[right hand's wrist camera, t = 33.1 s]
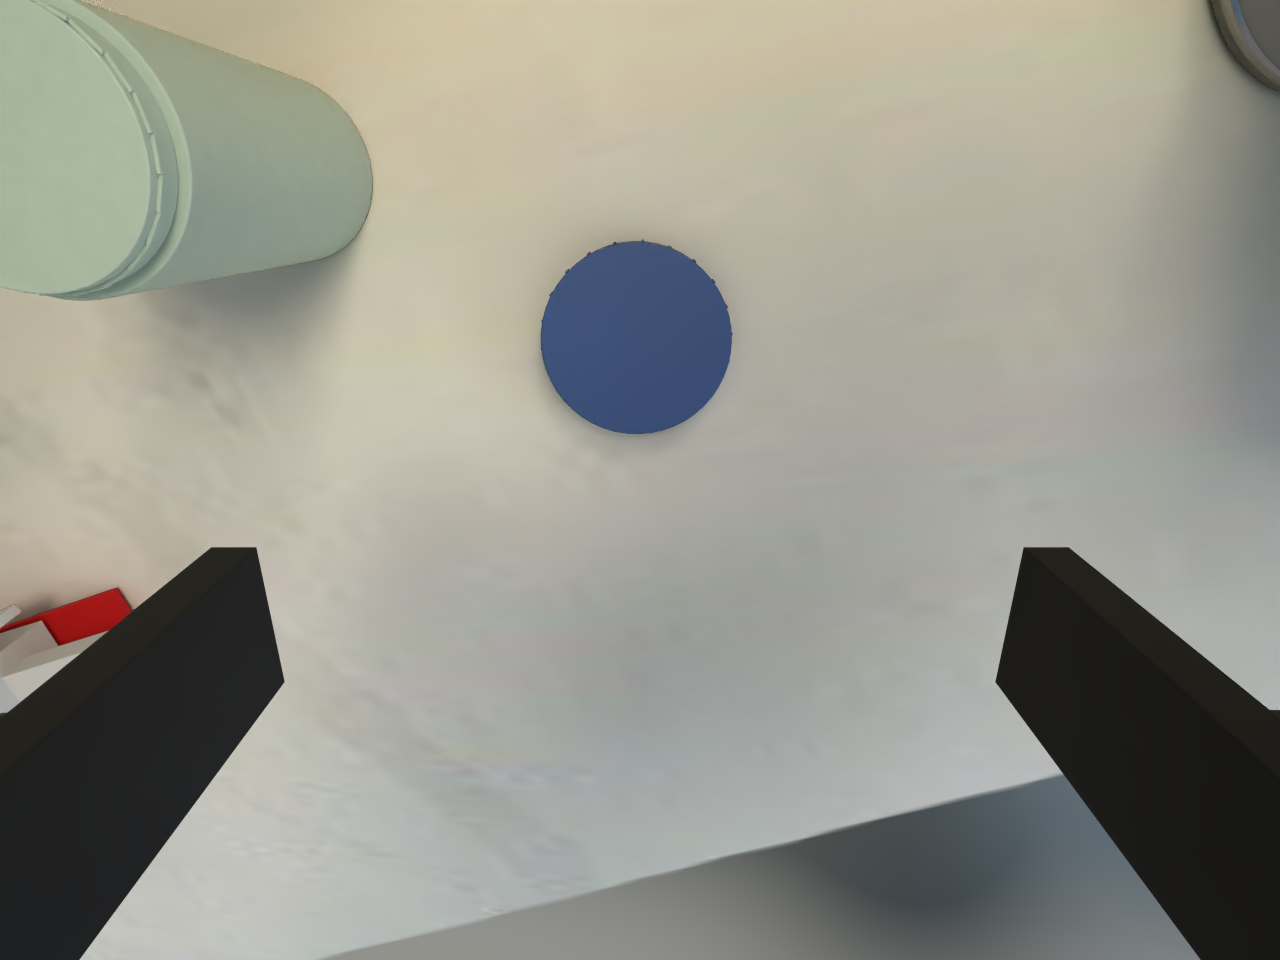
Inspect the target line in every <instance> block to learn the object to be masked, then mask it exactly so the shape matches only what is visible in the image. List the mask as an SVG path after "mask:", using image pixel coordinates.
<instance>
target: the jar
mask: <svg viewBox="0 0 1280 960" xmlns="http://www.w3.org/2000/svg"><path fill="white" fill-rule="evenodd" d="M371 198H372V171H371V165H370V160H369V156H368V153H367V149H366V147H365V144H364V142H363V139H362V137H361V135H360V133H359V131H358V130H357V128H356V126H355V124H354V123H353V122H352V120H351V119H350V117H349V116H348V114H347V113H346V112H345V111H344V110H343V109H342V108H341V107H340V105H339V104H338V103H336V102H335V101H334V100H333V99H332V98H331V97H330V96H329V95H327V94H326V93H324V92H323V91H322V90H320V89H319V88H317V87H315V86H313V85H312V84H310V83H308V82H306V81H303V80H301V79H298V78H295V77H293V76H290V75H287V74H284V73H281V72H279V71H276V70H273V69H270V68H268V67H265V66H262V65H259V64H256V63H254V62H251V61H248V60H245V59H242V58H240V57H237V56H234V55H231V54H228V53H226V52H223V51H220V50H217V49H214V48H212V47H209V46H206V45H203V44H200V43H198V42H195V41H192V40H189V39H186V38H184V37H181V36H178V35H175V34H172V33H170V32H167V31H164V30H161V29H158V28H156V27H153V26H150V25H147V24H144V23H142V22H139V21H136V20H133V19H131V18H128V17H125V16H122V15H119V14H117V13H114V12H111V11H108V10H105V9H103V8H100V7H97V6H94V5H91V4H89V3H86V2H83V1H80V0H0V287H3V288H6V289H10V290H15V291H20V292H24V293H33V294H39V295H46V296H51V297H55V298H60V299H67V300H79V301H86V300H101V299H107V298H112V297H117V296H123V295H128V294H134V293H139V292H145V291H150V290H156V289H161V288H167V287H172V286H177V285H183V284H188V283H194V282H199V281H205V280H210V279H216V278H221V277H227V276H232V275H237V274H243V273H248V272H254V271H259V270H265V269H270V268H276V267H281V266H287V265H292V264H297V263H303V262H308V261H314V260H319V259H322V258H325V257H328V256H330V255H332V254H334V253H336V252H338V251H339V250H340V249H342V248H343V247H345V246H346V245H347V244H348V243H349V242H350V241H351V240H352V239H353V238H354V237H355V235H356V234H357V233H358V231H359V230H360V228H361V227H362V225H363V223H364V221H365V219H366V216H367V213H368V211H369V207H370V202H371Z"/></svg>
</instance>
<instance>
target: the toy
mask: <svg viewBox="0 0 1280 960" xmlns="http://www.w3.org/2000/svg"><path fill="white" fill-rule="evenodd" d="M21 612H22V611H21V610H20V609H19V608H18V607H17V606H16V605H13V606H10V607H8V608H5V609H3V610H1V611H0V713H7V712H9V711H10V710H11V709H12V708H14V707H15V706H16V705H17V704H19V703H20V702H21V701H22V700H24V699H25V698H26V697H27V696H28V695H30V694H31V693H32V692H33V691H35V690H36V689H37V688H38V687H40V686H41V685H42V684H43V683H45V682H46V681H47V680H48V679H49V678H51V677H52V676H53V675H54V674H56V673H57V672H58V671H59V670H61V669H62V668H63V667H64V666H66V665H67V664H68V663H69V662H70V661H72V660H73V659H74V658H75V657H77V656H78V655H79V654H80V653H82V652H83V651H84V650H85V649H87V648H88V647H89V646H90V645H91V644H93V643H94V642H95V641H96V640H98V639H99V638H100V637H101V636H103V635H104V634H105V633H106V632H108V631H109V630H110V629H111V628H113V627H114V626H115V625H116V624H117V623H119V622H120V621H121V620H122V619H124V618H125V617H126V616H127V615H129V614H130V613H131V612H132V610H131V609H130V607H129V606H128V604H127V603H126V601H125V600H124V598H123V596H122V595H121V593H120V592H119V590H118V589H117V588H114V589H111V590H108V591H105V592H102V593H100V594H97V595H94V596H91V597H88V598H85V599H82V600H79V601H76V602H73V603H70V604H67V605H64V606H62V607H59V608H56V609H53V610H50V611H47V612H44V613H41V614H38V615H35V616H32V617H29V618H27V619H24V620H21V621H18V622H15V623H12V624H9V625H6V626H4V625H5V624H7V623H8V622H9V621H11V620H12V619H13V618H15V617H16V616H17V615H18V614H20V613H21Z"/></svg>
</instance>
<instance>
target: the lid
mask: <svg viewBox="0 0 1280 960" xmlns="http://www.w3.org/2000/svg"><path fill="white" fill-rule="evenodd" d="M565 273H566V274H565V275H564V277H563V278H562V279H561V281H560V282H559V283H558V284H557V286H556V288H555V289H554V291H553V292H552V293H551V294H550V299H549V301H548V304H547V306H546V309H545V313H544V317H543V320H542V329H541V350H542V355H543V360H544V363H545V367H546V370H547V373H548V375H549V377H550V380H551V382H552V384H553V385H554V387H555V389H556V390H557V392H558V393H559V395H560V396H561V397H562V399H563V400H564V401H565V402H566V403H567V404H568V405H569V406H570V407H571V408H572V409H573V410H574V411H575V412H576V413H578V414H579V415H580V416H582V417H583V418H585V419H586V420H588V421H590V422H591V423H593V424H595V425H598V426H600V427H602V428H605V429H608V430H612V431H615V432H621V433H627V434H644V433H653V432H657V431H662V430H665V429H668V428H671V427H673V426H676V425H678V424H680V423H682V422H684V421H685V420H687V419H688V418H690V417H691V416H693V415H694V414H695V413H697V412H698V411H699V410H700V409H701V408H702V407H703V406H704V405H705V404H706V403H707V402H708V401H709V400H710V399H711V397H712V396H713V395H714V393H715V392H716V390H717V389H718V387H719V385H720V383H721V381H722V379H723V377H724V375H725V372H726V369H727V366H728V363H729V358H730V354H731V343H732V332H731V324H730V319H729V314H728V311H727V308H728V307H727V305H726V304H725V302H724V300H723V298H722V296H721V294H720V292H719V290H718V289H717V287H716V286H715V284H714V283H715V281H714V280H713V279H710V277H709V276H708V275H707V274H706V273H705V272H704V271H703V269H702V268H701V267H699V266H698V265H697V264H696V261H695V260H694V259H693V260H691V259H690V258H688V257H687V256H685V255H684V254H682V253H680V252H678V251H676V250H674V249H672V247H671V246H669V247H667V246H664V245H660V244H656V243H651V242H644V240H642V241H630V242H621V243H617V244H616V242H614V243H613V244H612V245H608V246H606V247H603V248H601V249H598V250H596V251H594V252H593V253H591V252H589V253H588V254H587V256H586V257H584V258H583V259H582V260H580V261H579V262H578V263H576V264H575V265H574V266H573V267H572V268H571V269H570V270H569V269H568V270H567V271H566V272H565Z"/></svg>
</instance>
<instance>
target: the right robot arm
mask: <svg viewBox="0 0 1280 960" xmlns="http://www.w3.org/2000/svg"><path fill="white" fill-rule="evenodd" d="M1211 2H1212V6H1213V10H1214V14H1215V17H1216V20H1217V23H1218V25H1219V28H1220V31H1221V33H1222V35H1223V37H1224V39H1225V41H1226V43H1227V45H1228V47H1229V48H1230V50H1231V51H1232V53H1233V54H1234V56H1235V57H1236V58H1237V60H1238V61H1239V62H1240V63H1241V64H1242V65H1243V66H1244V68H1245V69H1246V70H1247V71H1249V72H1250V73H1251V74H1252V75H1253V76H1254V77H1255V78H1257V79H1258V80H1259V81H1261V82H1262V83H1264V84H1265V85H1267V86H1268V87H1270V88H1272V89H1274V90H1276V91H1279V92H1280V0H1211ZM283 683H284V677H283V672H282V668H281V663H280V658H279V653H278V649H277V644H276V639H275V634H274V630H273V625H272V620H271V615H270V611H269V606H268V601H267V596H266V592H265V587H264V582H263V577H262V573H261V568H260V563H259V558H258V554H257V549H256V547H211V548H210V549H209V550H208V551H206V552H205V553H204V554H203V555H202V556H200V557H199V558H198V559H197V560H195V561H194V562H193V563H192V564H190V565H189V566H188V567H187V568H185V569H184V570H183V571H182V572H180V573H179V574H178V575H177V576H176V577H174V578H173V579H172V580H171V581H169V582H168V583H167V584H166V585H164V586H163V587H162V588H161V589H159V590H158V591H157V592H156V593H155V594H153V595H152V596H151V597H150V598H148V599H147V600H146V601H145V602H143V603H142V604H141V605H140V606H138V607H137V608H136V609H135V610H134V611H132V612H131V613H130V614H129V615H127V616H126V617H125V618H124V619H122V620H121V621H120V622H119V623H117V624H116V625H115V626H114V627H113V628H111V629H110V630H109V631H108V632H106V633H105V634H104V635H103V636H101V637H100V638H99V639H98V640H96V641H95V642H94V643H93V644H91V645H90V646H89V647H88V648H87V649H85V650H84V651H83V652H82V653H80V654H79V655H78V656H77V657H75V658H74V659H73V660H72V661H70V662H69V663H68V664H67V665H66V666H64V667H63V668H62V669H61V670H59V671H58V672H57V673H56V674H54V675H53V676H52V677H51V678H49V679H48V680H47V681H46V682H45V683H43V684H42V685H41V686H40V687H38V688H37V689H36V690H35V691H33V692H32V693H31V694H30V695H28V696H27V697H26V698H25V699H24V700H22V701H21V702H20V703H19V704H17V705H16V706H15V707H14V708H12V709H11V710H10V711H9V712H7V713H0V960H79V959H80V958H81V957H82V955H83V954H84V953H85V951H86V950H87V949H88V947H89V946H90V944H91V943H92V942H93V940H94V939H95V938H96V936H97V935H98V934H99V932H100V931H101V930H102V928H103V927H104V926H105V924H106V923H107V921H108V920H109V919H110V917H111V916H112V915H113V913H114V912H115V911H116V909H117V908H118V907H119V905H120V904H121V903H122V901H123V900H124V898H125V897H126V896H127V894H128V893H129V892H130V890H131V889H132V888H133V886H134V885H135V884H136V882H137V881H138V880H139V878H140V877H141V875H142V874H143V873H144V871H145V870H146V869H147V867H148V866H149V865H150V863H151V862H152V861H153V859H154V858H155V857H156V855H157V854H158V852H159V851H160V850H161V848H162V847H163V846H164V844H165V843H166V842H167V840H168V839H169V838H170V836H171V835H172V834H173V832H174V831H175V829H176V828H177V827H178V825H179V824H180V823H181V821H182V820H183V819H184V817H185V816H186V815H187V813H188V812H189V810H190V809H191V808H192V806H193V805H194V804H195V802H196V801H197V800H198V798H199V797H200V796H201V794H202V793H203V792H204V790H205V789H206V787H207V786H208V785H209V783H210V782H211V781H212V779H213V778H214V777H215V775H216V774H217V773H218V771H219V770H220V769H221V767H222V766H223V764H224V763H225V762H226V760H227V759H228V758H229V756H230V755H231V754H232V752H233V751H234V750H235V748H236V747H237V746H238V744H239V743H240V741H241V740H242V739H243V737H244V736H245V735H246V733H247V732H248V731H249V729H250V728H251V727H252V725H253V724H254V723H255V721H256V720H257V718H258V717H259V716H260V714H261V713H262V712H263V710H264V709H265V708H266V706H267V705H268V704H269V702H270V701H271V700H272V698H273V697H274V695H275V694H276V693H277V691H278V690H279V689H280V687H281V686H282V685H283ZM996 683H997V685H998V686H999V687H1000V689H1001V690H1002V691H1003V693H1004V694H1005V695H1006V697H1007V698H1008V700H1009V701H1010V702H1011V704H1012V705H1013V706H1014V708H1015V709H1016V710H1017V712H1018V713H1019V714H1020V716H1021V717H1022V718H1023V720H1024V721H1025V723H1026V724H1027V725H1028V727H1029V728H1030V729H1031V731H1032V732H1033V733H1034V735H1035V736H1036V737H1037V739H1038V740H1039V741H1040V743H1041V744H1042V746H1043V747H1044V748H1045V750H1046V751H1047V752H1048V754H1049V755H1050V756H1051V758H1052V759H1053V760H1054V762H1055V763H1056V764H1057V766H1058V767H1059V769H1060V770H1061V771H1062V773H1063V774H1064V775H1065V777H1066V778H1067V779H1068V781H1069V782H1070V783H1071V785H1072V786H1073V787H1074V789H1075V790H1076V792H1077V793H1078V794H1079V796H1080V797H1081V798H1082V800H1083V801H1084V802H1085V804H1086V805H1087V806H1088V808H1089V809H1090V810H1091V812H1092V813H1093V815H1094V816H1095V817H1096V818H1097V820H1098V821H1099V823H1100V824H1101V825H1102V827H1103V828H1104V829H1105V831H1106V832H1107V834H1108V835H1109V836H1110V838H1111V839H1112V840H1113V842H1114V843H1115V844H1116V846H1117V847H1118V848H1119V850H1120V851H1121V852H1122V854H1123V855H1124V856H1125V858H1126V859H1127V860H1128V862H1129V863H1130V865H1131V866H1132V867H1133V869H1134V870H1135V871H1136V873H1137V874H1138V875H1139V877H1140V878H1141V879H1142V881H1143V882H1144V883H1145V885H1146V886H1147V888H1148V889H1149V890H1150V892H1151V893H1152V894H1153V896H1154V897H1155V898H1156V900H1157V901H1158V903H1159V904H1160V905H1161V907H1162V908H1163V909H1164V911H1165V912H1166V913H1167V915H1168V916H1169V917H1170V919H1171V920H1172V921H1173V923H1174V924H1175V926H1176V927H1177V928H1178V930H1179V931H1180V932H1181V934H1182V935H1183V936H1184V938H1185V939H1186V940H1187V942H1188V943H1189V944H1190V946H1191V947H1192V949H1193V950H1194V951H1195V953H1196V954H1197V955H1198V957H1199V958H1200V959H1201V960H1280V710H1269V709H1268V708H1266V707H1265V706H1264V705H1263V704H1261V703H1260V702H1259V701H1258V700H1256V699H1255V698H1254V697H1253V696H1252V695H1250V694H1249V693H1248V692H1247V691H1245V690H1244V689H1243V688H1242V687H1240V686H1239V685H1238V684H1237V683H1235V682H1234V681H1233V680H1232V679H1231V678H1229V677H1228V676H1227V675H1226V674H1224V673H1223V672H1222V671H1221V670H1219V669H1218V668H1217V667H1216V666H1214V665H1213V664H1212V663H1211V662H1210V661H1208V660H1207V659H1206V658H1205V657H1203V656H1202V655H1201V654H1200V653H1198V652H1197V651H1196V650H1195V649H1193V648H1192V647H1191V646H1190V645H1189V644H1187V643H1186V642H1185V641H1184V640H1182V639H1181V638H1180V637H1179V636H1177V635H1176V634H1175V633H1174V632H1172V631H1171V630H1170V629H1169V628H1167V627H1166V626H1165V625H1164V624H1163V623H1161V622H1160V621H1159V620H1158V619H1156V618H1155V617H1154V616H1153V615H1151V614H1150V613H1149V612H1148V611H1146V610H1145V609H1144V608H1143V607H1142V606H1140V605H1139V604H1138V603H1137V602H1135V601H1134V600H1133V599H1132V598H1130V597H1129V596H1128V595H1127V594H1125V593H1124V592H1123V591H1122V590H1121V589H1119V588H1118V587H1117V586H1116V585H1114V584H1113V583H1112V582H1111V581H1109V580H1108V579H1107V578H1106V577H1104V576H1103V575H1102V574H1101V573H1100V572H1098V571H1097V570H1096V569H1095V568H1093V567H1092V566H1091V565H1090V564H1088V563H1087V562H1086V561H1085V560H1083V559H1082V558H1081V557H1080V556H1078V555H1077V554H1076V553H1075V552H1074V551H1072V550H1071V549H1070V548H1069V547H1024V549H1023V554H1022V558H1021V563H1020V568H1019V573H1018V577H1017V582H1016V587H1015V592H1014V596H1013V601H1012V606H1011V611H1010V615H1009V620H1008V625H1007V630H1006V634H1005V639H1004V644H1003V649H1002V653H1001V658H1000V663H999V668H998V672H997V677H996Z"/></svg>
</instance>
